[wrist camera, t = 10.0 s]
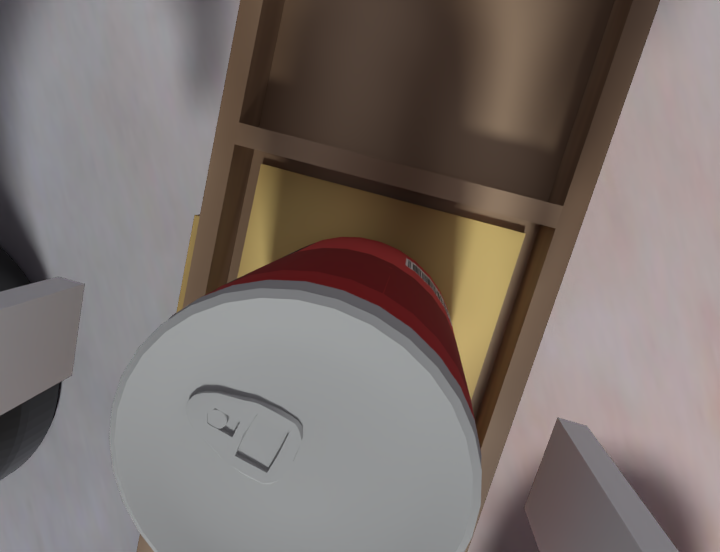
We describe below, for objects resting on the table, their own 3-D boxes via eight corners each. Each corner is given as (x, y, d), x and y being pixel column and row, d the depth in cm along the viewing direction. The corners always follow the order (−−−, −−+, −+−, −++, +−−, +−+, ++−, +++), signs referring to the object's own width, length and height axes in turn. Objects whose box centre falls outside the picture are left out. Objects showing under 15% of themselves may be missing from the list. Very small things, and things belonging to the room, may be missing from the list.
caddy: (142, 622, 26) (106, 677, 23) (307, -218, 18) (286, -296, 15) (392, 707, 25) (388, 776, 22) (680, -142, 17) (733, -210, 14)
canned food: (283, 214, 20) (126, 242, 9) (472, 260, 20) (538, 346, 9) (250, 383, 22) (83, 574, 11) (426, 430, 21) (432, 681, 10)
